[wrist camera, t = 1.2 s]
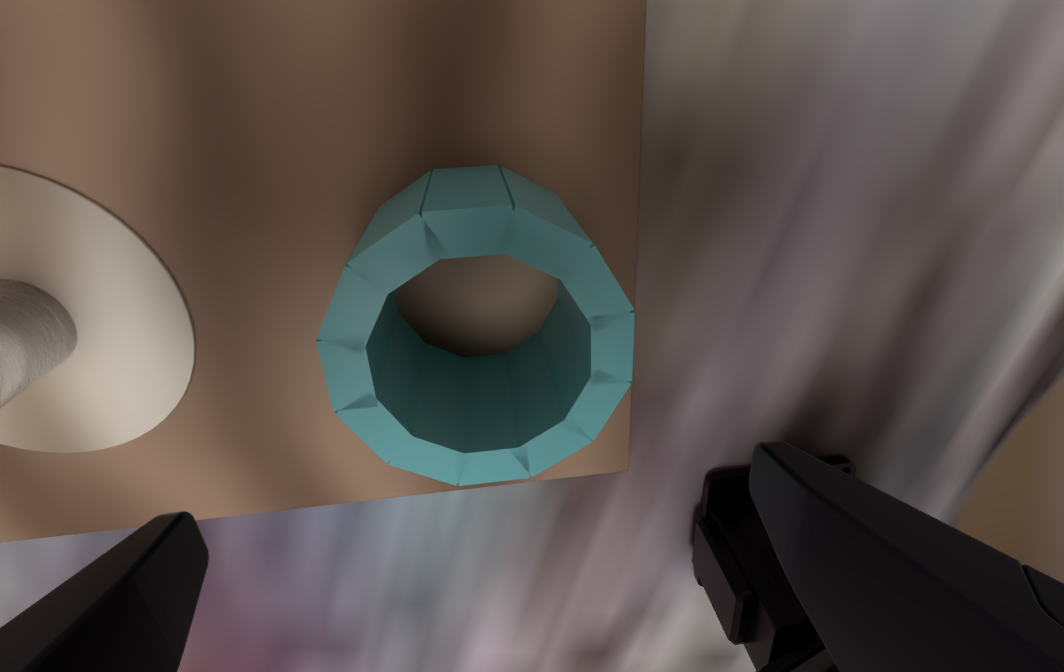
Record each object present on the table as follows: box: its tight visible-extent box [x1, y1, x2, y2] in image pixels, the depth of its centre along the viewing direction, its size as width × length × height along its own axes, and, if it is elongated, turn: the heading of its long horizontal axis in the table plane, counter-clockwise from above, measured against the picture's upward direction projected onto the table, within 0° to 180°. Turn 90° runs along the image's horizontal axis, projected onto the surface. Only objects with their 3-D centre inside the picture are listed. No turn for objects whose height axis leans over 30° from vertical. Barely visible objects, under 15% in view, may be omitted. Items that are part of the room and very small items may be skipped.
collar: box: [316, 165, 635, 486], centre depth 15 cm, size 7×7×5 cm
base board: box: [0, 0, 646, 543], centre depth 17 cm, size 24×16×2 cm, turn 92°
